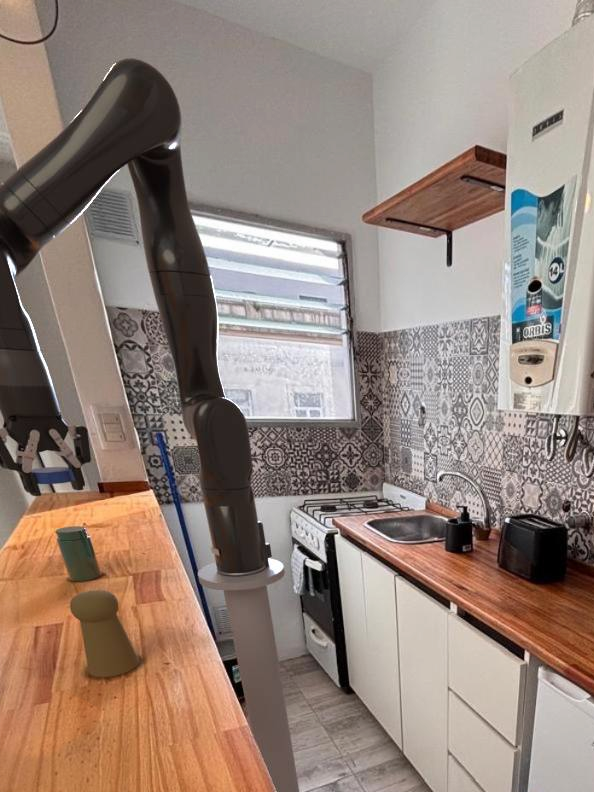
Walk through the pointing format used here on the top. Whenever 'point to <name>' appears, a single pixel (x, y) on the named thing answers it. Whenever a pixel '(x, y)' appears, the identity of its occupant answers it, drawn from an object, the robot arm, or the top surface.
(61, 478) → the jar lid
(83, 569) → the jam jar
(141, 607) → the top surface
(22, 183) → the robot arm
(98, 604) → the cork
